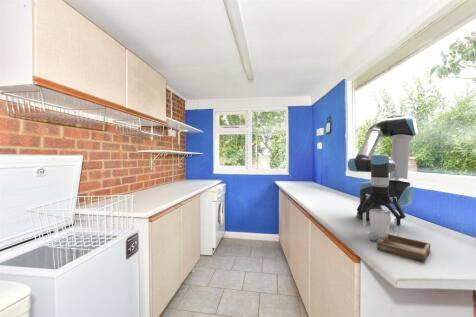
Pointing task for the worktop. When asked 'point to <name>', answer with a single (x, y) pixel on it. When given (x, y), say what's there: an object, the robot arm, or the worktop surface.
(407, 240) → the tray
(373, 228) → the cup
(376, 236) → the ball
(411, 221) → the worktop surface
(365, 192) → the robot arm
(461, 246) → the worktop surface
